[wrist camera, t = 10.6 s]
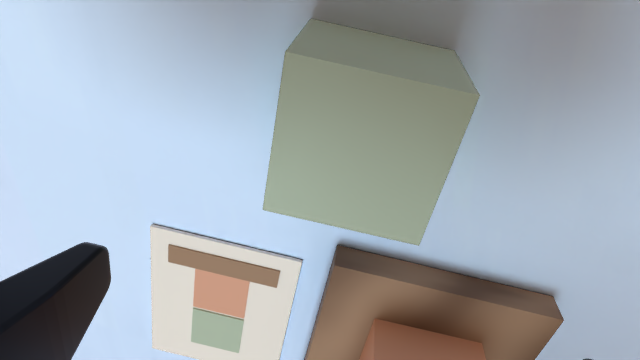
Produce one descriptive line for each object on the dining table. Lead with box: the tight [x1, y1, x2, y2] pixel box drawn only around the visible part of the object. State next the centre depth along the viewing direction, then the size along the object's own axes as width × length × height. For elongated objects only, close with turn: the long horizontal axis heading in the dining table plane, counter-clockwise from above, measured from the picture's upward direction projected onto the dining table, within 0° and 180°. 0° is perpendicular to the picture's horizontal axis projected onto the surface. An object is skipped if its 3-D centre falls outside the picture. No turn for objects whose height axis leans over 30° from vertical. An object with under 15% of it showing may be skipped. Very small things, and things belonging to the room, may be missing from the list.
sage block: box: [263, 19, 480, 246], centre depth 15 cm, size 6×6×5 cm
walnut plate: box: [304, 245, 564, 360], centre depth 24 cm, size 11×11×2 cm
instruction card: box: [150, 224, 302, 360], centre depth 25 cm, size 8×10×1 cm
